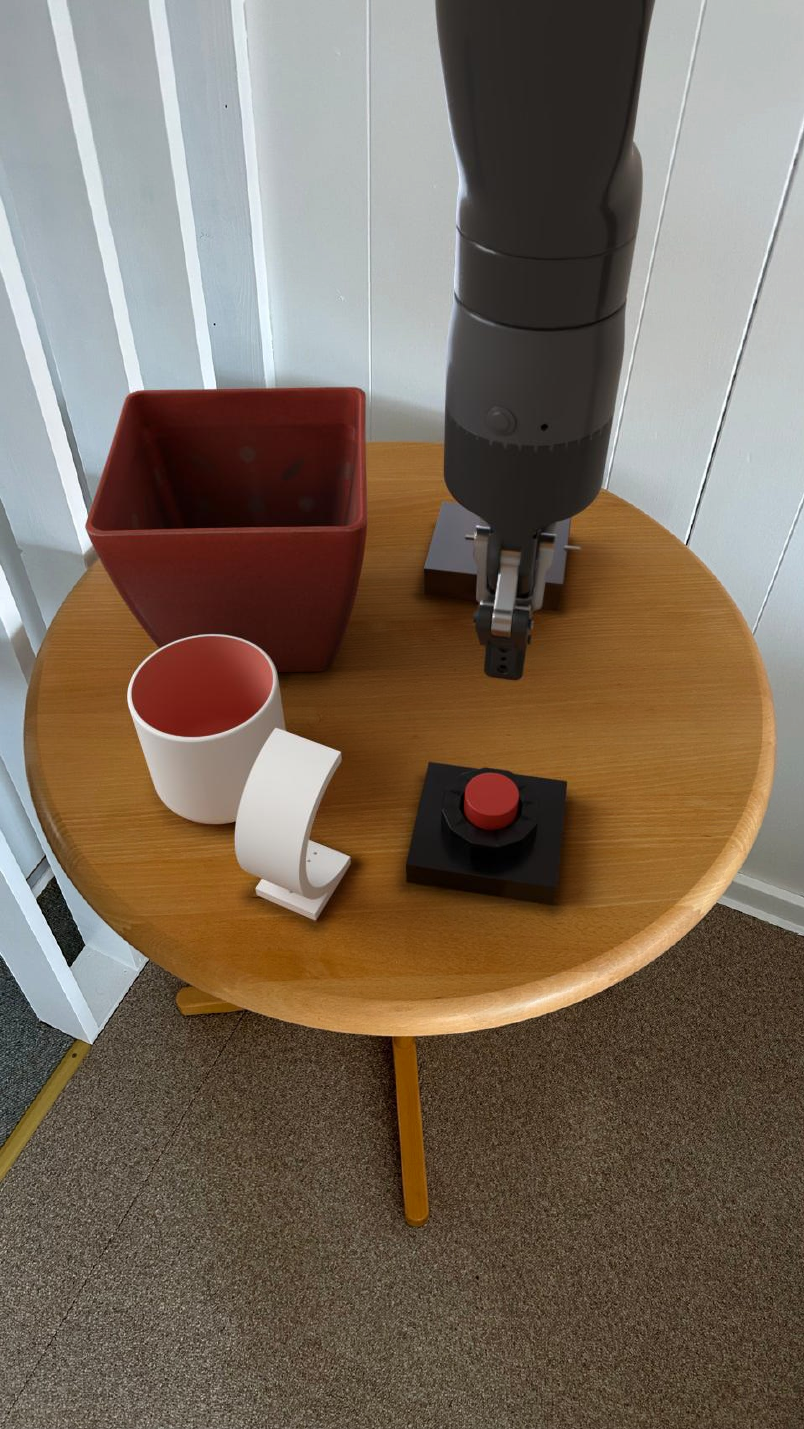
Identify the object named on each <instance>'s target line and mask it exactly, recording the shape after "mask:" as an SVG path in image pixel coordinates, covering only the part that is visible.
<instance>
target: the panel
mask: <svg viewBox="0 0 804 1429" xmlns="http://www.w3.org/2000/svg"><path fill="white" fill-rule="evenodd" d="M571 524H572V517H571V518H568V519H566V520H563V521H559V522H558V528H557V535H556V542H555V550H554V557H553V564H552V568H551V569H550V570H549V571H548V572H547V575H546V580H545V588H544V595H543V603H542V607H541V608H540V610H541V609H542V610H552V611H560V609H561V603H562V595H563V588H564V582H565V573H566V566H567V565H566V564H567V557H568V550H570V551H579V552H580V551H581V548H582V547H581V546H575V545H569V541H570V533H571ZM477 525H478V526H480V517H479V516H477V515H476V514H474V513H472V512H470V511H468V510H467V509H466V508H464V507H463V506H462V505H460V504H459V503H458V502H452V501H442V502H441V506H440V509H439V513H438V516H437V520H436V524H435V526H434V530H433V534H432V537H431V540H430V545H429V548H428V552H427V556H426V560H425V564H424V567H423V595H424V596H432V597H441V598H447V599H448V598H449V599H457V600H458V599H459V600H466V601H473V602H478V601H477V600H476V589H477V569H478V565H477V563H476V562H475V561H474V560H473V546H474V535H475V529H476V526H477Z"/></svg>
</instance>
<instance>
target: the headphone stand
mask: <svg viewBox="0 0 804 1429" xmlns="http://www.w3.org/2000/svg"><path fill="white" fill-rule="evenodd" d="M342 759H343V758H342V752H341V751H339V750H336V749H334V748H331V747H329V746H326V745H324V744H321V743H318V742H316V741H312V740H310V739H307V738H305V737H302V736H300V735H297V734H294V733H291V732H289V731H287V730H286V731H284V730H281V729H278V728H275V729H274V731H273V732H272V733H271V735H270V736H269V738H268V739H267V741H266V743H265V744H264V746H263V748H262V750H261V751H260V753H259V755H258V757H257V759H256V761H255V763H254V765H253V768H252V770H251V772H250V775H249V777H248V780H247V783H246V785H245V788H244V791H243V795H242V798H241V801H240V805H239V809H238V814H237V820H236V821H235V827H234V852H235V857H236V860H237V863H238V865H239V867H240V868H241V869H242V871H244V872H246V873H248V874H250V875H252V876H254V877H257V878H259V879H260V881H259V883H258V884H257V885H256V887H255V893H256V896H259V897H261V898H262V899H265V900H268V901H270V902H272V903H274V904H275V905H276V904H277V905H279V906H281V907H283V908H285V909H288V910H290V911H292V912H295V913H297V914H299V915H302V916H303V917H306V918H308V919H311V920H313V921H314V922H316V921H317V919H318V918H319V916H320V915H321V913H322V912H323V910H324V908H325V906H326V905H327V903H328V901H329V900H330V898H332V895H333V893H334V892H335V890H336V889H337V887H338V885H339V884H340V882H341V880H342V879H343V877H344V876H345V874H346V872H347V871H348V869H349V867H350V866H351V865H352V861H351V858H352V857H351V856H350V855H347V854H345V853H342V852H341V851H338V850H336V849H332V848H330V847H327V846H325V845H322V844H320V843H318V842H316V841H313V840H311V839H310V836H311V832H312V830H313V829H312V828H313V824H314V821H315V819H316V815H317V812H318V809H319V807H320V804H321V802H322V800H323V797H324V795H325V792H326V790H327V788H328V786H329V784H330V782H331V780H332V778H333V776H334V774H335V772H336V771H337V769H338V767H339V766H340V764H341V763H342V761H343V760H342Z"/></svg>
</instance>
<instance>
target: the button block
mask: <svg viewBox="0 0 804 1429" xmlns="http://www.w3.org/2000/svg"><path fill="white" fill-rule="evenodd" d="M484 773H497V774H501V775H504V776H506V777H508V778H509V779H511V780H512V781H513V782H514V783H515V785H516V786H517V788H518V791H519V803H518V810H517V815H516V818H515V819H514V821H513V822H512V823H511V824H510V825H509V826H507V827H505V828H503V829H500V830H484V829H481V828H479V827H477V826H475V825H473V824H472V823H471V822H470V821H469V820H468V818H467V817H466V815H465V812H464V799H465V789H466V786H467V784H468V783H469V782H470V781H471V780H472V779H473V778H474V777H476V776H478V775H480V774H484ZM567 790H568V781H567V780H561V779H554V778H547V777H540V776H533V775H526V774H519V773H514V772H512V771H510V770H507V769H500V768H495V767H494V768H493V767H488V766H487V767H486V766H485V767H480V768H478V767H477V768H476V767H470V766H463V765H455V764H449V763H441V762H436V761H435V762H434V761H428V763H427V768H426V772H425V777H424V782H423V786H422V791H421V795H420V798H419V804H418V808H417V813H416V818H415V822H414V826H413V831H412V834H411V839H410V844H409V849H408V853H407V857H406V863H405V882H406V883H409V884H415V885H422V886H427V887H433V888H434V887H435V888H440V889H448V890H453V891H459V892H466V893H472V894H477V895H484V896H489V897H490V896H491V897H497V898H504V899H510V900H514V901H515V900H516V901H522V902H529V903H534V904H541V905H548V906H555V905H554V904H555V901H556V894H557V891H558V880H559V872H560V871H559V870H560V860H561V851H562V841H563V831H564V830H563V829H564V820H565V811H566V810H565V809H566V799H567Z"/></svg>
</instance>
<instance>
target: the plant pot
mask: <svg viewBox="0 0 804 1429" xmlns="http://www.w3.org/2000/svg"><path fill="white" fill-rule="evenodd" d="M123 401H124V402H123V404H122V408H121V412H120V415H119V417H118V422H117V425H116V428H115V432H114V435H113V438H112V442H111V445H110V448H109V451H108V454H107V457H106V462H105V463H104V464H105V465H104V467H103V470H102V472H101V476H100V479H99V483H98V485H97V489H96V492H95V494H94V497H93V501H92V503H91V506H90V510H89V511H88V515H87V517H86V521H85V524H84V528H85V532H86V534H87V535H88V538H89V541H90V542H91V544H92V547H93V548H94V551H95V553H96V555H97V556H98V558H99V560H100V562H101V564H102V566H103V568H104V570H105V571H106V573H107V575H108V577H109V578H110V581H111V582H112V584H113V586H114V587H115V588H116V591H117V592H118V594H119V595H120V597H121V598H122V600H123V602H124V603H125V605H126V606H127V608H128V609H129V611H130V612H131V614H132V615H133V617H134V618H135V619H136V620H137V622H138V624H139V625H140V626H141V627H142V629H143V631H144V632H145V633H146V634H147V635H148V637H149V638H150V639H151V640H152V642H153V643H154V644H155V645H156V646H157V648H158V649H160V648H162V647H164V646H166V645H168V644H170V643H172V642H175V641H177V640H180V639H183V638H187V637H191V636H197V635H206V634H221V635H229V636H234V637H238V638H241V639H244V640H247V641H249V642H251V643H253V644H255V645H256V646H258V647H259V648H261V649H262V650H263V651H264V652H265V653H266V654H267V655H268V656H269V657H270V658H271V660H272V662H273V663H274V665H275V668H276V671H277V673H290V672H291V673H298V672H299V673H300V672H323V671H327V670H329V669H330V668H331V667H332V666H333V665H334V662H335V660H336V659H337V656H338V653H339V651H340V648H341V646H342V643H343V641H344V638H345V635H346V633H347V629H348V627H349V623H350V620H351V617H352V613H353V609H354V606H355V602H356V598H357V593H358V589H359V586H360V585H359V584H360V580H361V574H362V570H363V563H364V557H365V550H366V543H367V533H368V532H367V531H368V482H367V479H368V478H367V437H366V434H367V432H366V430H367V429H366V422H367V421H366V418H367V414H366V413H367V394H366V392H365V391H364V390H363V389H362V388H360V387H356V386H323V387H322V386H321V387H319V386H318V387H316V386H315V387H311V386H310V387H259V388H258V387H257V388H255V387H254V388H251V387H250V388H204V389H202V388H201V389H200V388H198V389H190V388H189V389H141V390H140V389H139V390H136V391H135V390H134V391H133V392H131V393H129V394H127V396H126V397H125V398H124V400H123Z"/></svg>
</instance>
